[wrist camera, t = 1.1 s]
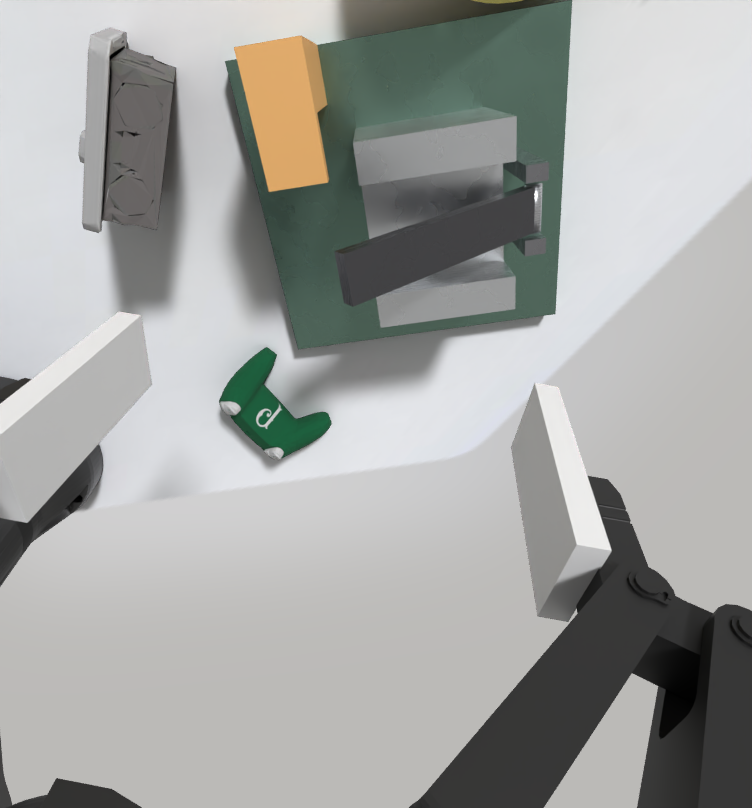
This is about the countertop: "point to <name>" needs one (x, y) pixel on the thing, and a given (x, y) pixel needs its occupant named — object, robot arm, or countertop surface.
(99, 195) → the electrical switch
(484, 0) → the plastic component
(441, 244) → the strap
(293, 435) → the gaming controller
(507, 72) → the green mounting baseplate
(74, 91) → the countertop surface
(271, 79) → the block
